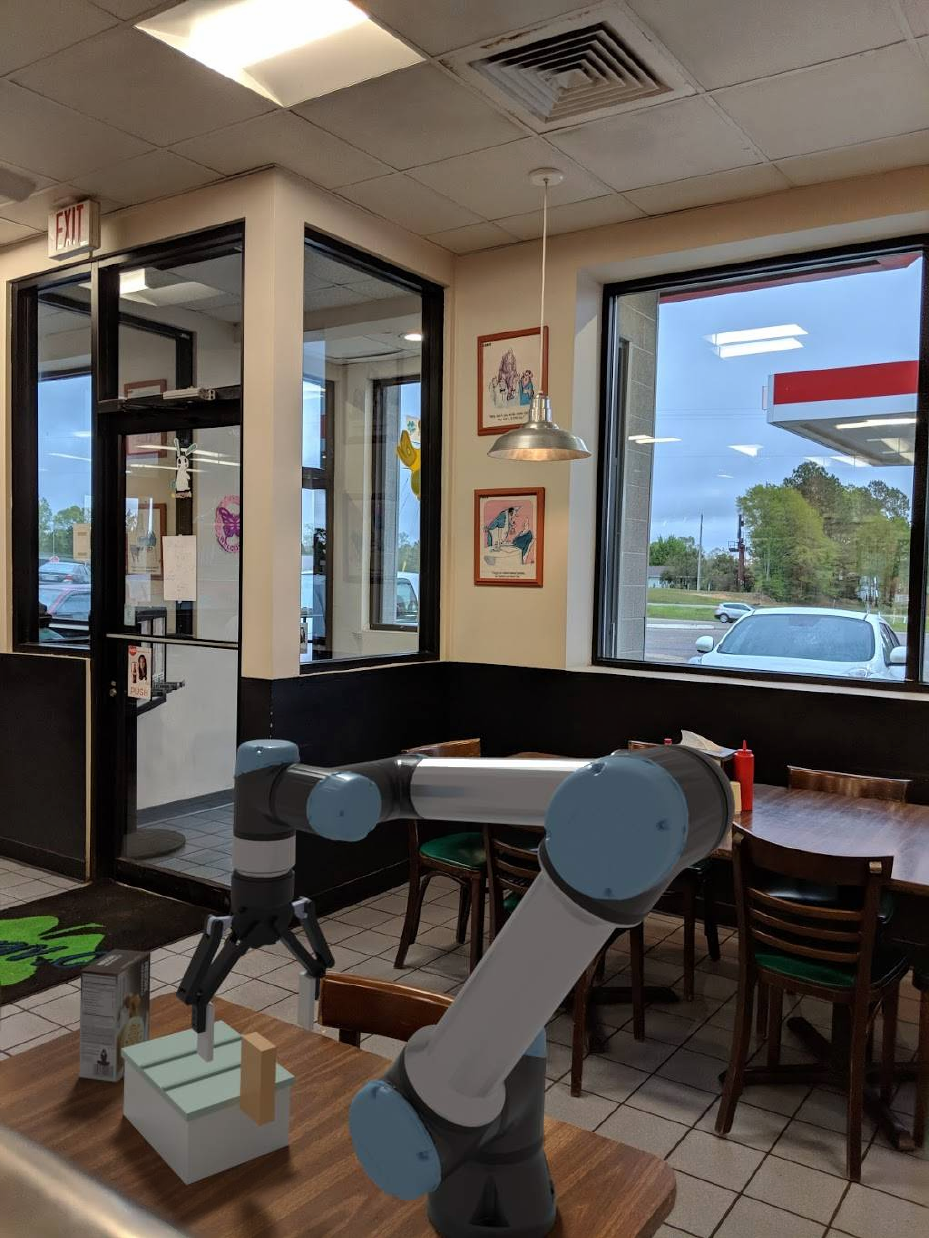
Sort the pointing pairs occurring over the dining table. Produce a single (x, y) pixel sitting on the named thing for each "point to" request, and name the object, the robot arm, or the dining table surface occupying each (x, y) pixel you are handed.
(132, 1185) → the dining table surface
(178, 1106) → the lid
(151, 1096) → the tub
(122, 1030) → the coffee box
